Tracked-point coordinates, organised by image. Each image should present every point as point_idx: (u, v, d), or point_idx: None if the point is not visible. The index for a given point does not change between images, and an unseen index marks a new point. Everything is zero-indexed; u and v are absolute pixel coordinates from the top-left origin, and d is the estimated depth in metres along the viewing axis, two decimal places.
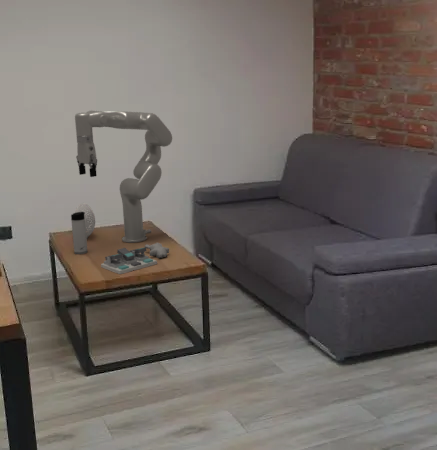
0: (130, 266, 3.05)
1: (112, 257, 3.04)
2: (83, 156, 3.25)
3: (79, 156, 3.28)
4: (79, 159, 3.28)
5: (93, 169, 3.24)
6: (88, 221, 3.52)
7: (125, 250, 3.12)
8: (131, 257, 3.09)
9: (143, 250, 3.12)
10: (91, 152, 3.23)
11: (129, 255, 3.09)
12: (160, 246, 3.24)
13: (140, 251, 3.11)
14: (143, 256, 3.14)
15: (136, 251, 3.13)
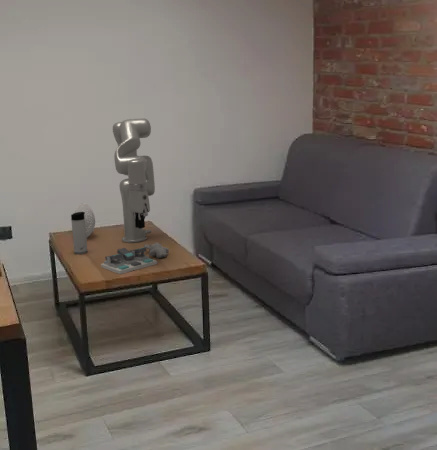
0: (130, 266, 3.05)
1: (112, 257, 3.04)
2: (136, 205, 3.05)
3: (131, 205, 3.08)
4: (131, 208, 3.09)
5: (142, 220, 3.08)
6: (88, 221, 3.52)
7: (125, 250, 3.12)
8: (131, 257, 3.09)
9: (143, 250, 3.12)
10: (144, 201, 3.03)
11: (129, 255, 3.09)
12: (160, 246, 3.24)
13: (140, 251, 3.11)
14: (143, 256, 3.14)
15: (136, 251, 3.13)
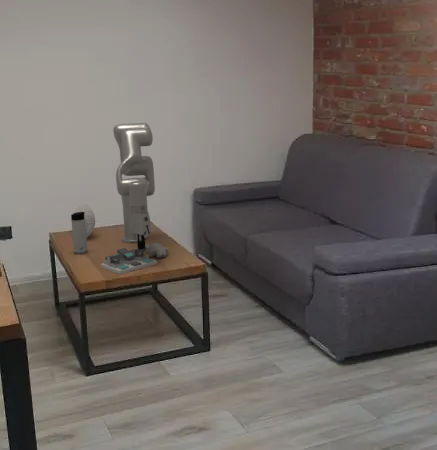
0: (130, 266, 3.05)
1: (112, 257, 3.04)
2: (137, 226, 3.07)
3: (132, 226, 3.10)
4: (132, 229, 3.11)
5: (142, 241, 3.10)
6: (88, 221, 3.52)
7: (125, 250, 3.12)
8: (131, 257, 3.09)
9: (143, 250, 3.12)
10: (146, 223, 3.06)
11: (129, 255, 3.09)
12: (159, 246, 3.24)
13: (140, 251, 3.11)
14: (143, 256, 3.14)
15: (136, 251, 3.13)
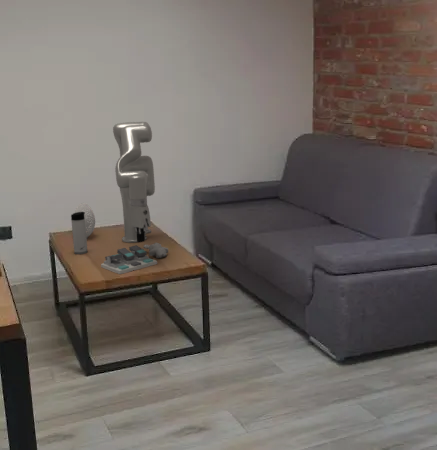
0: (130, 266, 3.05)
1: (112, 257, 3.04)
2: (137, 219, 3.07)
3: (132, 219, 3.10)
4: (132, 222, 3.11)
5: (142, 234, 3.10)
6: (88, 221, 3.52)
7: (125, 250, 3.12)
8: (131, 257, 3.09)
9: (143, 254, 3.13)
10: (145, 216, 3.05)
11: (129, 255, 3.09)
12: (159, 246, 3.24)
13: (140, 255, 3.12)
14: (143, 256, 3.14)
15: (136, 253, 3.13)
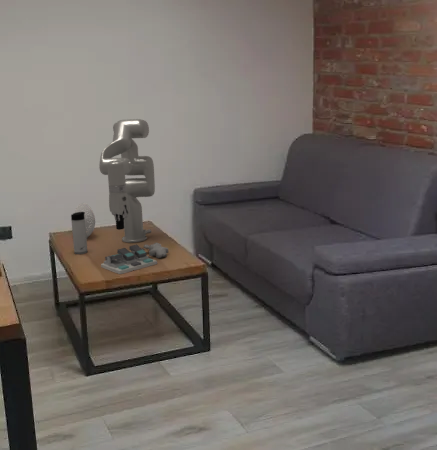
0: (130, 266, 3.05)
1: (112, 257, 3.04)
2: (116, 206, 3.05)
3: (111, 206, 3.09)
4: (111, 209, 3.09)
5: (121, 222, 3.09)
6: (88, 221, 3.52)
7: (125, 250, 3.12)
8: (131, 257, 3.09)
9: (143, 255, 3.13)
10: (124, 202, 3.04)
11: (129, 255, 3.09)
12: (159, 246, 3.24)
13: (140, 256, 3.12)
14: None
15: (136, 253, 3.13)
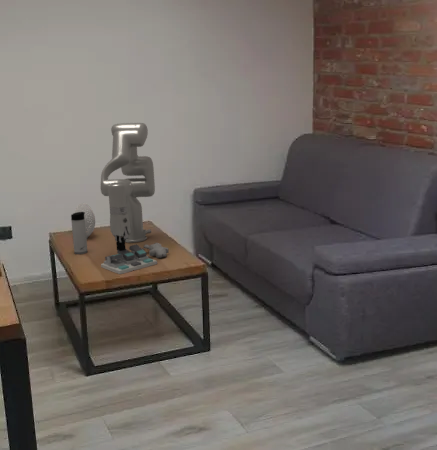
0: (130, 266, 3.05)
1: (112, 257, 3.04)
2: (116, 228, 3.08)
3: (112, 227, 3.11)
4: (112, 230, 3.12)
5: (122, 243, 3.11)
6: (88, 221, 3.52)
7: (125, 250, 3.12)
8: (131, 257, 3.09)
9: (143, 255, 3.13)
10: (125, 224, 3.06)
11: (129, 255, 3.09)
12: (159, 246, 3.24)
13: (140, 256, 3.12)
14: None
15: (136, 253, 3.13)
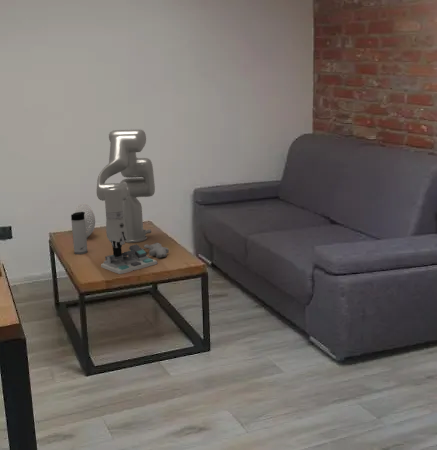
0: (130, 266, 3.05)
1: (112, 257, 3.04)
2: (113, 233, 2.99)
3: (108, 233, 3.02)
4: (108, 236, 3.03)
5: (118, 249, 3.02)
6: (88, 221, 3.52)
7: None
8: (130, 252, 3.08)
9: (143, 255, 3.13)
10: (122, 229, 2.97)
11: (128, 251, 3.09)
12: (159, 246, 3.24)
13: (140, 256, 3.12)
14: None
15: (136, 253, 3.13)
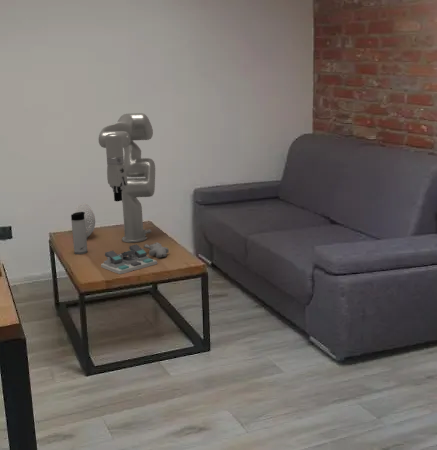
0: (130, 266, 3.05)
1: (112, 260, 3.04)
2: (113, 178, 3.12)
3: (109, 178, 3.15)
4: (109, 181, 3.16)
5: (119, 193, 3.15)
6: (88, 221, 3.52)
7: None
8: (130, 252, 3.08)
9: (143, 255, 3.13)
10: (122, 174, 3.10)
11: (128, 251, 3.09)
12: (159, 246, 3.24)
13: (140, 256, 3.12)
14: None
15: (136, 253, 3.13)
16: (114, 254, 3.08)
